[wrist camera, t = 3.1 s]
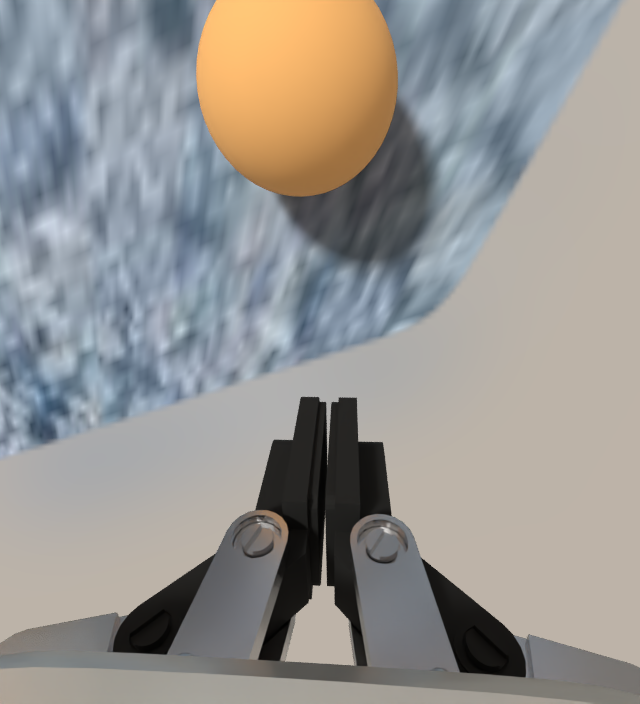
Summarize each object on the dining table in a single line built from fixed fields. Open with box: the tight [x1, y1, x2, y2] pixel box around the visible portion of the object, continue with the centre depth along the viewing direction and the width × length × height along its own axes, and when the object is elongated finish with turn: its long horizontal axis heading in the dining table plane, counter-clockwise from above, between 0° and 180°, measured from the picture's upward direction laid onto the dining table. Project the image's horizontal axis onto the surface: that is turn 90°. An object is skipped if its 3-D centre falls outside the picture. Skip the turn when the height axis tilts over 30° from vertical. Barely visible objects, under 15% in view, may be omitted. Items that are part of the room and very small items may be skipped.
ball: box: [196, 0, 398, 197], centre depth 12 cm, size 6×6×6 cm
